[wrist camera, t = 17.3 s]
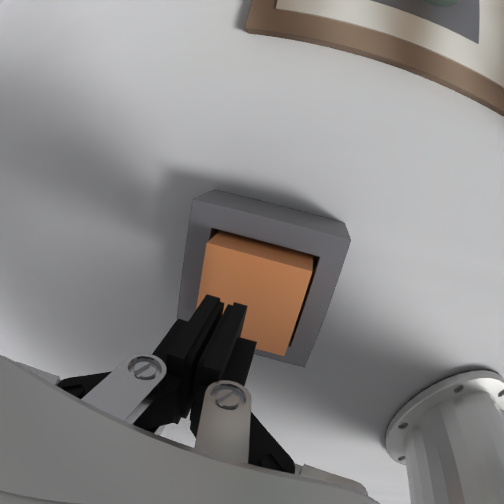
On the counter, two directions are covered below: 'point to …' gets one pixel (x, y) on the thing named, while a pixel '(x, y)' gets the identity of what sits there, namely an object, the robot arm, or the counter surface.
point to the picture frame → (402, 37)
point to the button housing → (276, 232)
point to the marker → (442, 2)
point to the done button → (257, 285)
